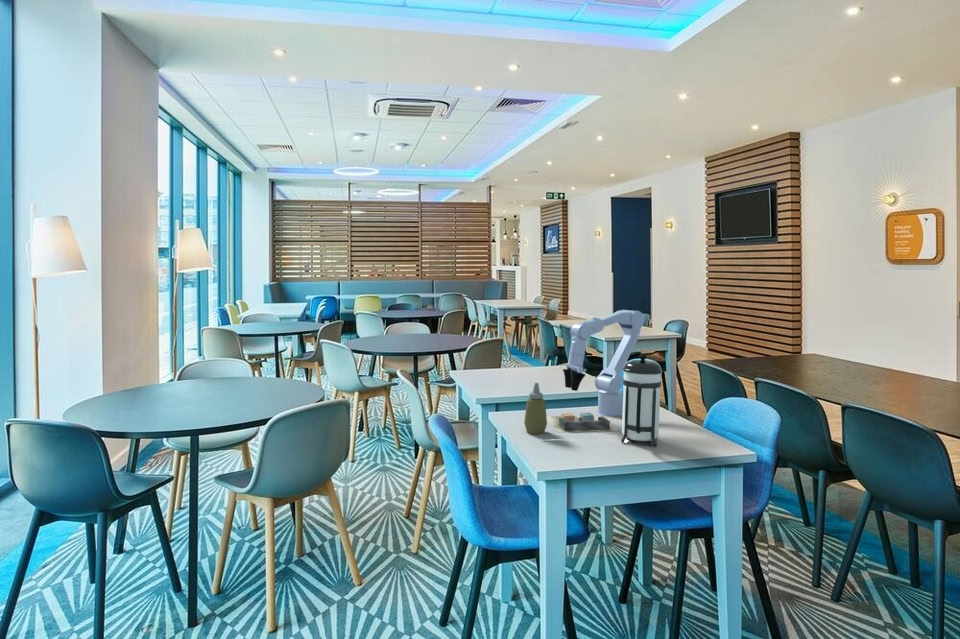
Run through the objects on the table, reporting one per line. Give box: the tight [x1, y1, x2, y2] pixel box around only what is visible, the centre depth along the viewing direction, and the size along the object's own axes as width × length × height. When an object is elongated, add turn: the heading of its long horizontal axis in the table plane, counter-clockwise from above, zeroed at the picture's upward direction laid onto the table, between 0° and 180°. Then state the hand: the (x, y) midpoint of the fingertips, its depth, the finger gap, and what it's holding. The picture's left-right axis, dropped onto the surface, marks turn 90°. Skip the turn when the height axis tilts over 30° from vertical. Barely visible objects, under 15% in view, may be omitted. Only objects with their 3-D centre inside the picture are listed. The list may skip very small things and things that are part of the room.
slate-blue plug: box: [579, 412, 594, 421], centre depth 213 cm, size 4×4×3 cm
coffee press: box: [620, 353, 663, 447], centre depth 189 cm, size 17×16×30 cm
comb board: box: [546, 414, 618, 433], centre depth 211 cm, size 22×22×4 cm
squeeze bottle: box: [524, 382, 548, 435], centre depth 198 cm, size 8×8×18 cm
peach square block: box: [560, 412, 576, 421], centre depth 212 cm, size 4×4×3 cm
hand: (571, 389), depth 219 cm, fingers open, 7 cm apart
